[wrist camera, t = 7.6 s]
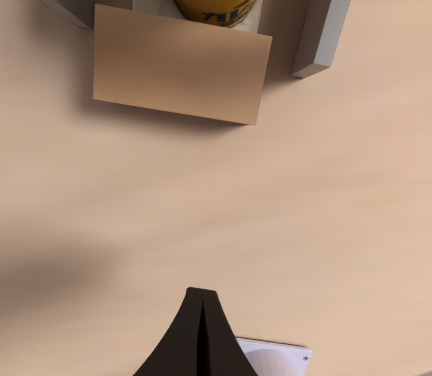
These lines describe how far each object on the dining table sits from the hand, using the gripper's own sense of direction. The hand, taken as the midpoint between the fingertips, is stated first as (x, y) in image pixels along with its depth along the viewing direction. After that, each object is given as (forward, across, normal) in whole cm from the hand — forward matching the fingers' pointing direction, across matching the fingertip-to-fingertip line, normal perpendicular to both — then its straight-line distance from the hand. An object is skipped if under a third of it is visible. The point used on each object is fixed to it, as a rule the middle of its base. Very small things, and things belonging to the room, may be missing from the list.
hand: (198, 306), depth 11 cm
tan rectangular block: (+10, +3, -11) cm, 15 cm away
